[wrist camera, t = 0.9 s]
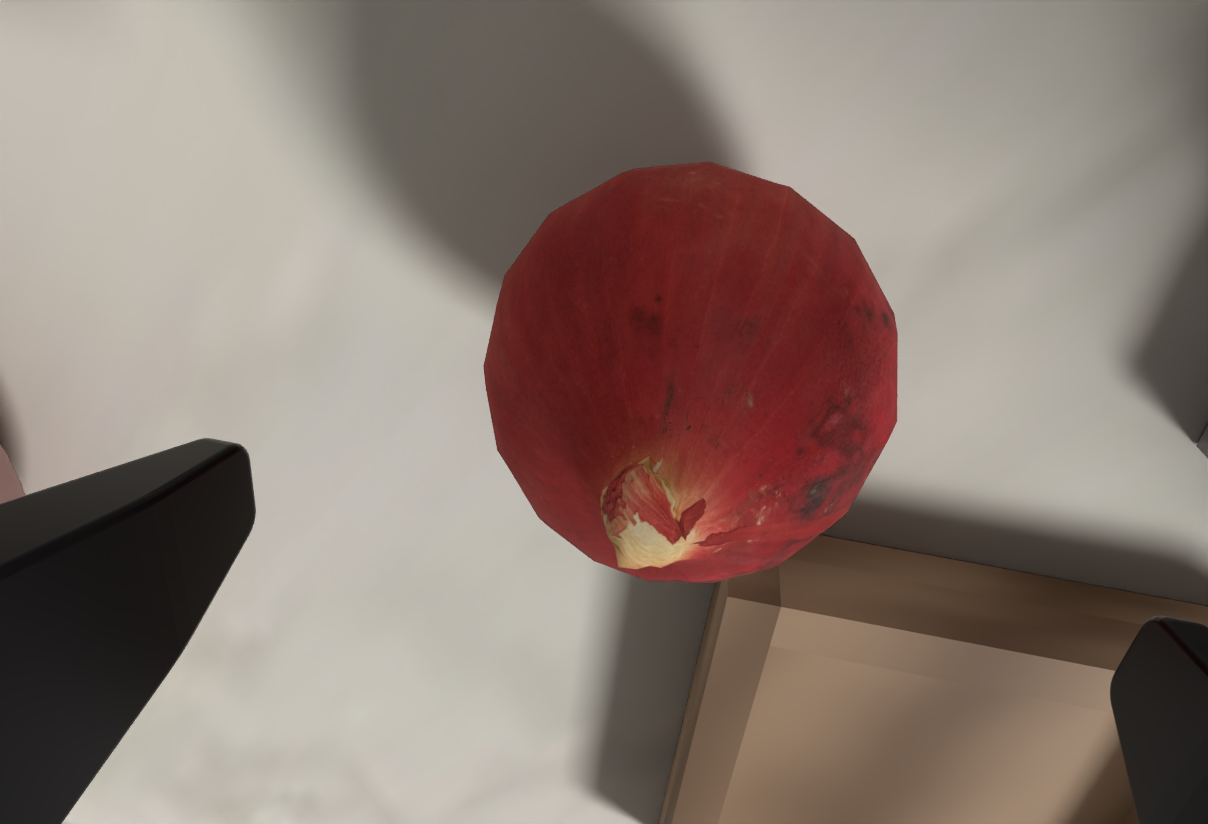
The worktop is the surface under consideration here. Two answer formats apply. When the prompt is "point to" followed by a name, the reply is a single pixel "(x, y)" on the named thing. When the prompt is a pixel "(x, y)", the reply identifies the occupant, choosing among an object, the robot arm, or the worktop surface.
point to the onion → (691, 372)
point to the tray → (906, 695)
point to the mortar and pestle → (8, 480)
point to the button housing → (1204, 442)
